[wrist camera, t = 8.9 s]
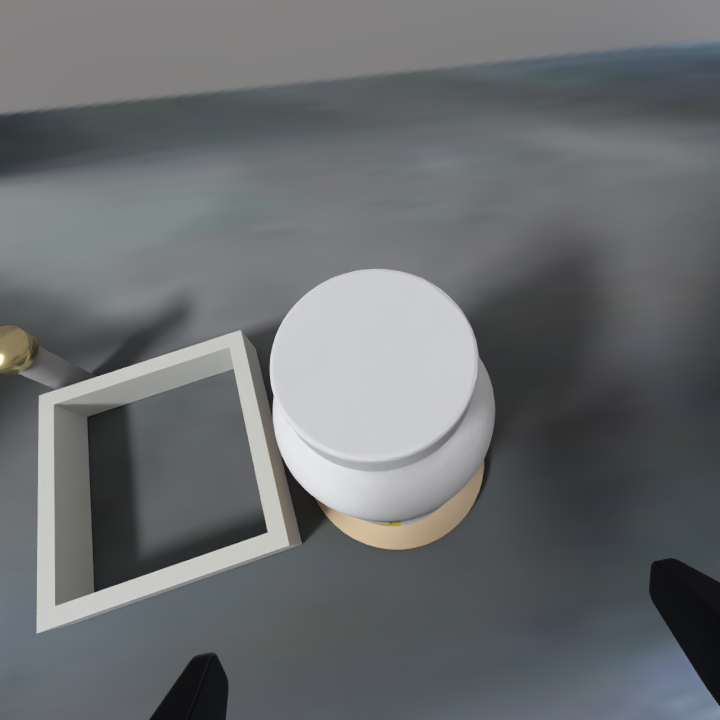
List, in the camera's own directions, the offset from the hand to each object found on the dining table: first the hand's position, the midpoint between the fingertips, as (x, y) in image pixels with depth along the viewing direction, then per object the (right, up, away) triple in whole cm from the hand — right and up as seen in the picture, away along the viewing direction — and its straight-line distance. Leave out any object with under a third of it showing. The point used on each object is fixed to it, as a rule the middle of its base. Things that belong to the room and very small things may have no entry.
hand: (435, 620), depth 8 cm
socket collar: (-11, -1, +14) cm, 18 cm away
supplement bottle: (0, 0, +13) cm, 13 cm away
